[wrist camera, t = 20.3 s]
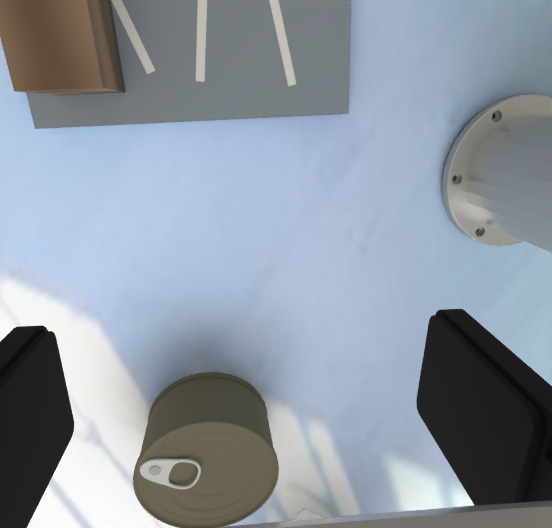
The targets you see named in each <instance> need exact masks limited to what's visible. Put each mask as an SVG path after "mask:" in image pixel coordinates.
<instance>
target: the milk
mask: <svg viewBox="0 0 552 528" xmlns="http://www.w3.org/2000/svg"><path fill="white" fill-rule="evenodd" d="M320 518H324V517H321V516H319V515H317V514H315V513H313V512H310V511H308V510H306V509H303V510H302V511H301V512H300V513H299V514H298V515H297V516H296V517H295V518H294V519H293V520H292V521H297V520H308V519H320Z"/></svg>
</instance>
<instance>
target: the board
mask: <svg viewBox="0 0 552 528" xmlns="http://www.w3.org/2000/svg"><path fill="white" fill-rule="evenodd" d="M111 6H112V12H113V18H114V24H115V30H116V36H117V42H118V48H119V55H120V61H121V67H122V73H123V79H124V85H125V91H126V92H125V93H101V94H77V95H48V94H37V93H27V92H26V93H27V97H28V101H29V105H30V109H31V114H32V118H33V122H34V126H35V129H40V128H60V127H81V126H102V125H123V124H143V123H164V122H185V121H206V120H226V119H247V118H268V117H289V116H310V115H330V114H348V111H349V62H350V13H351V0H111Z"/></svg>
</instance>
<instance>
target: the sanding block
mask: <svg viewBox="0 0 552 528" xmlns="http://www.w3.org/2000/svg"><path fill="white" fill-rule="evenodd" d="M0 37H1V41H2V45H3V49H4V53H5V57H6V61H7V65H8V68H9V72H10V76H11V80H12V84H13V88H14V91H17V92H27V93H37V94H48V95H77V94H101V93H125V92H126V91H125V85H124V79H123V73H122V67H121V61H120V55H119V48H118V42H117V36H116V30H115V24H114V18H113V12H112V6H111V0H0Z"/></svg>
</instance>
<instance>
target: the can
mask: <svg viewBox="0 0 552 528" xmlns="http://www.w3.org/2000/svg"><path fill="white" fill-rule="evenodd" d="M278 473H279V467H278V460H277V456H276V453H275V450H274V448H273V444H272V439H271V433H270V428H269V422H268V418H267V410H266V406H265V403H264V401H263V399H262V397H261V395H260V394H259V393H258V391H257V390H256V389H255V388H254V387H253V386H251V385H250V384H249V383H247V382H246V381H244V380H242V379H240V378H238V377H235V376H232V375H229V374H224V373H213V372H209V373H199V374H194V375H190V376H187V377H185V378H182V379H180V380H178V381H176V382H174V383H173V384H171V385H170V386H168V387H167V388H166V389H165V390H164V391H163V392H162V393H161V394H160V395H159V396H158V397H157V399H156V400H155V402H154V404H153V405H152V408H151V410H150V414H149V418H148V424H147V428H146V432H145V436H144V441H143V445H142V449H141V453H140V456H139V458H138V460H137V463H136V466H135V470H134V476H133V485H134V491H135V494H136V496H137V499H138V501H139V502H140V504H141V505H142V506H143V508H144V509H145V510H146V511H147V512H148V513H149V514H151V515H152V516H153V517H155V518H156V519H158V520H160V521H161V522H163V523H166V524H168V525H171V526H174V527H178V528H217V527H224V526H228V525H231V524H234V523H236V522H239V521H241V520H243V519H245V518H246V517H248V516H250V515H251V514H253V513H254V512H255V511H257V510H258V509H259V508H260V507H261V506H262V505H263V504H264V503H265V502H266V501H267V500H268V498H269V497H270V496H271V494H272V492H273V490H274V488H275V486H276V483H277V480H278Z"/></svg>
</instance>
